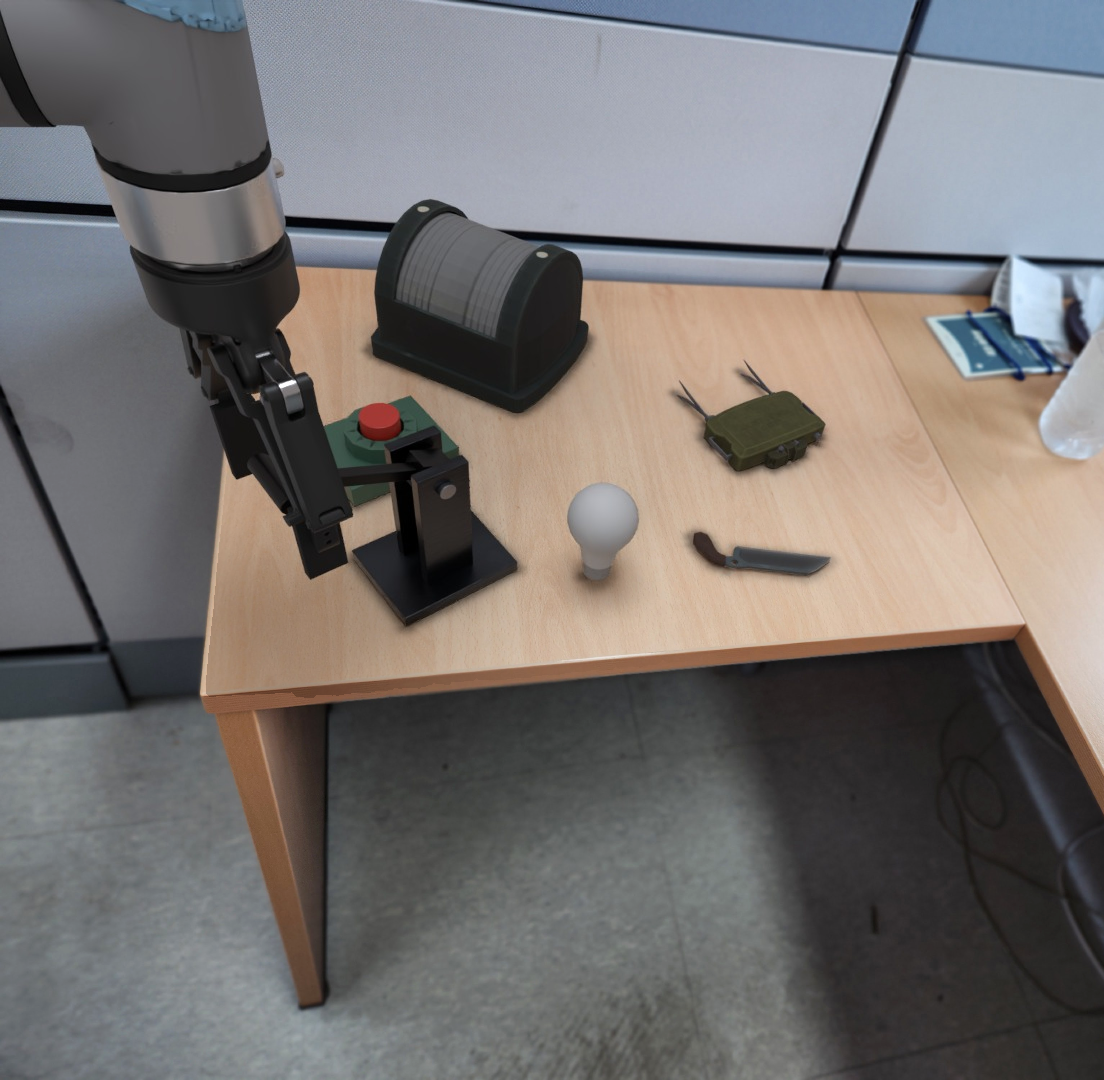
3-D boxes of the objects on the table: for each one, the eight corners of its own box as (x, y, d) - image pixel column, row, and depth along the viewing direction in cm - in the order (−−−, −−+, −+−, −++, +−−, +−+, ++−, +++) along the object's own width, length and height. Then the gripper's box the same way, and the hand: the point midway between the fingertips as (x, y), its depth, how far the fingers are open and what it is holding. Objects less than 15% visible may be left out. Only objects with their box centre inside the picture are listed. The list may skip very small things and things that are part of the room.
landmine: (746, 466, 89) (664, 381, 95) (741, 484, 91) (661, 400, 97) (841, 426, 96) (759, 351, 102) (834, 444, 98) (754, 368, 104)
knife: (692, 565, 82) (693, 560, 81) (692, 534, 84) (693, 529, 84) (832, 581, 84) (834, 576, 83) (828, 550, 86) (830, 546, 86)
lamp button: (372, 446, 79) (370, 432, 78) (353, 424, 81) (351, 410, 79) (408, 433, 81) (406, 419, 80) (389, 411, 83) (387, 397, 81)
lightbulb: (620, 608, 77) (633, 528, 69) (554, 592, 77) (560, 510, 69) (635, 559, 81) (649, 477, 73) (572, 543, 81) (580, 460, 73)
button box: (354, 506, 79) (348, 476, 76) (308, 449, 82) (300, 418, 79) (459, 463, 85) (458, 433, 82) (412, 411, 88) (409, 381, 85)
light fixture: (529, 304, 80) (344, 232, 82) (526, 417, 91) (362, 351, 93) (606, 230, 92) (442, 168, 94) (595, 339, 102) (448, 281, 104)
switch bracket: (406, 627, 71) (390, 517, 61) (353, 558, 75) (329, 444, 65) (517, 569, 78) (519, 461, 67) (463, 509, 81) (457, 397, 71)
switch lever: (277, 521, 57) (284, 493, 56) (243, 476, 59) (249, 448, 58) (455, 498, 68) (464, 474, 67) (422, 461, 70) (430, 437, 69)
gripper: (390, 332, 42) (422, 599, 58) (192, 126, 51) (267, 407, 67) (233, 380, 38) (314, 653, 54) (48, 146, 47) (165, 441, 63)
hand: (288, 517), depth 61 cm, fingers open, 10 cm apart
